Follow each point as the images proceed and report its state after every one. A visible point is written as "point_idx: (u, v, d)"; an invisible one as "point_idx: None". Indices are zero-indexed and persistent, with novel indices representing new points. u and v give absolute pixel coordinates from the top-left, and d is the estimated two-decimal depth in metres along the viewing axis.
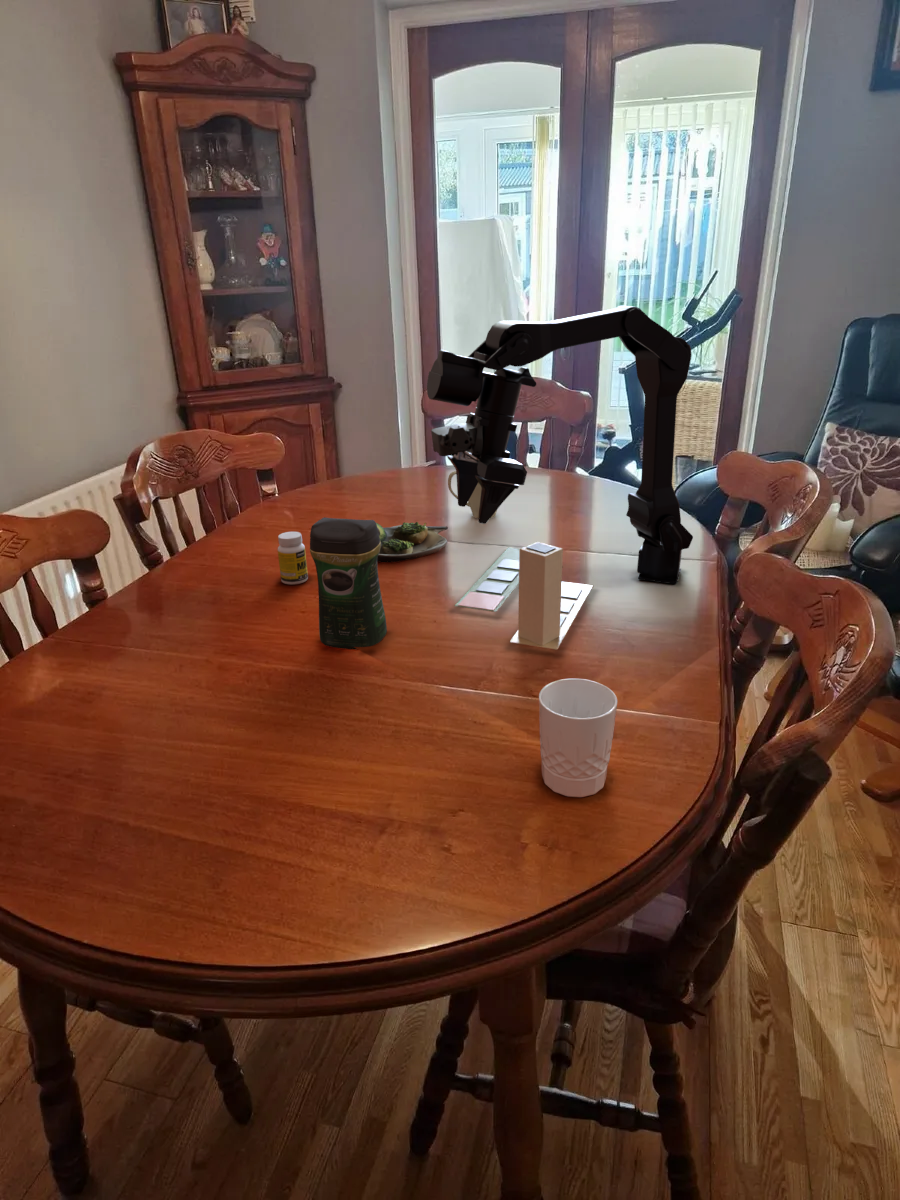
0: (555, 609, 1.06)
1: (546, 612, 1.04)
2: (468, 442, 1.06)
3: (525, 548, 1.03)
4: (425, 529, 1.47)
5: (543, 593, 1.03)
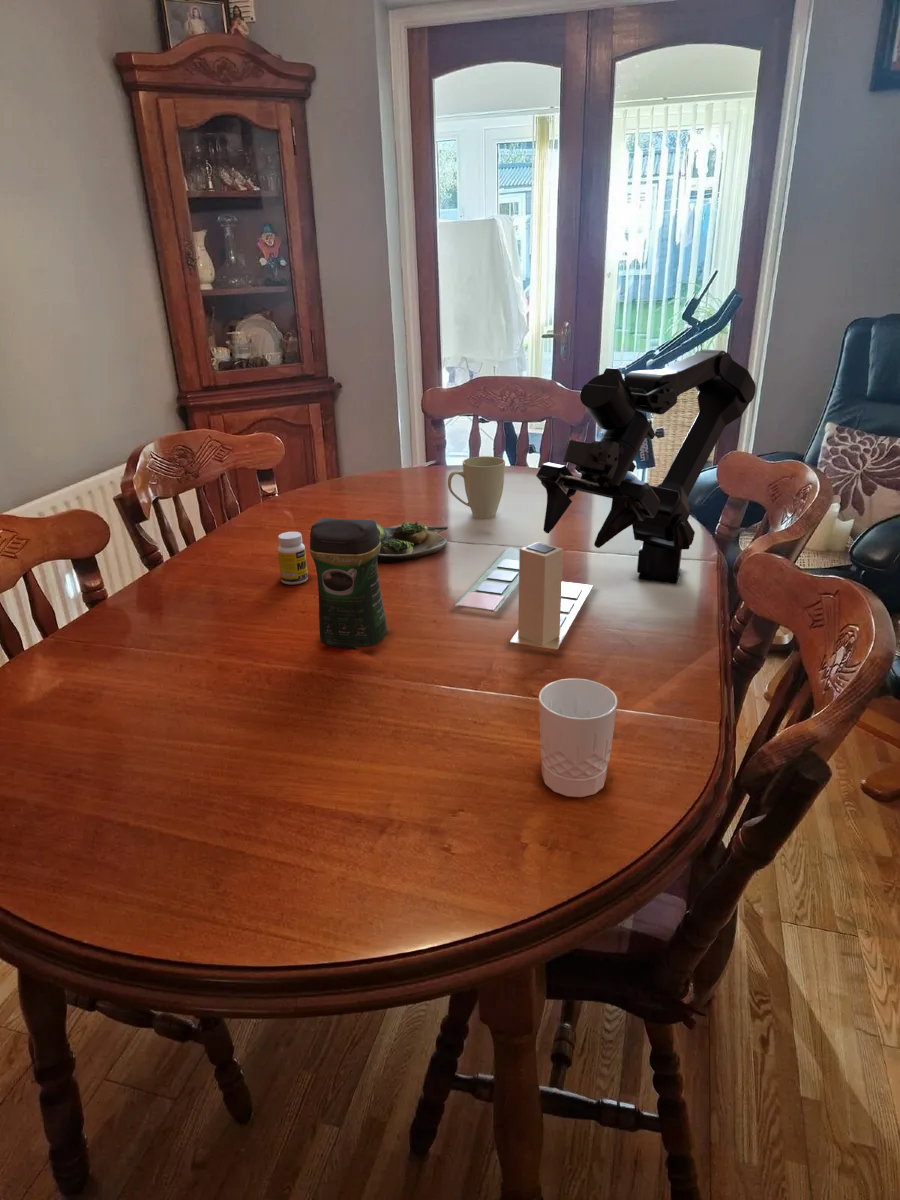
0: (555, 609, 1.06)
1: (546, 612, 1.04)
2: (616, 460, 1.04)
3: (525, 548, 1.03)
4: (425, 529, 1.47)
5: (543, 593, 1.03)
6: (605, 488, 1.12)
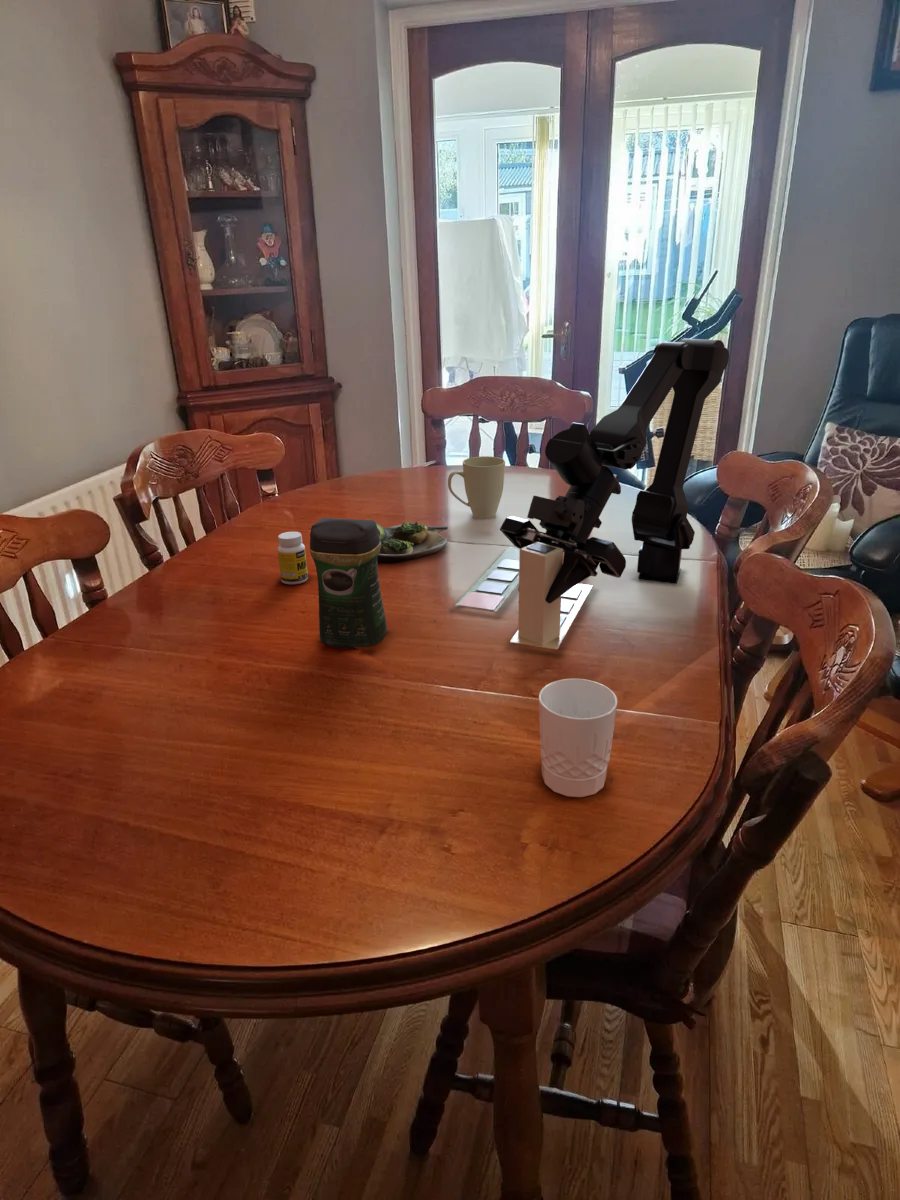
0: (555, 609, 1.06)
1: (546, 612, 1.04)
2: (581, 518, 1.01)
3: (525, 548, 1.03)
4: (425, 529, 1.47)
5: (543, 594, 1.03)
6: None
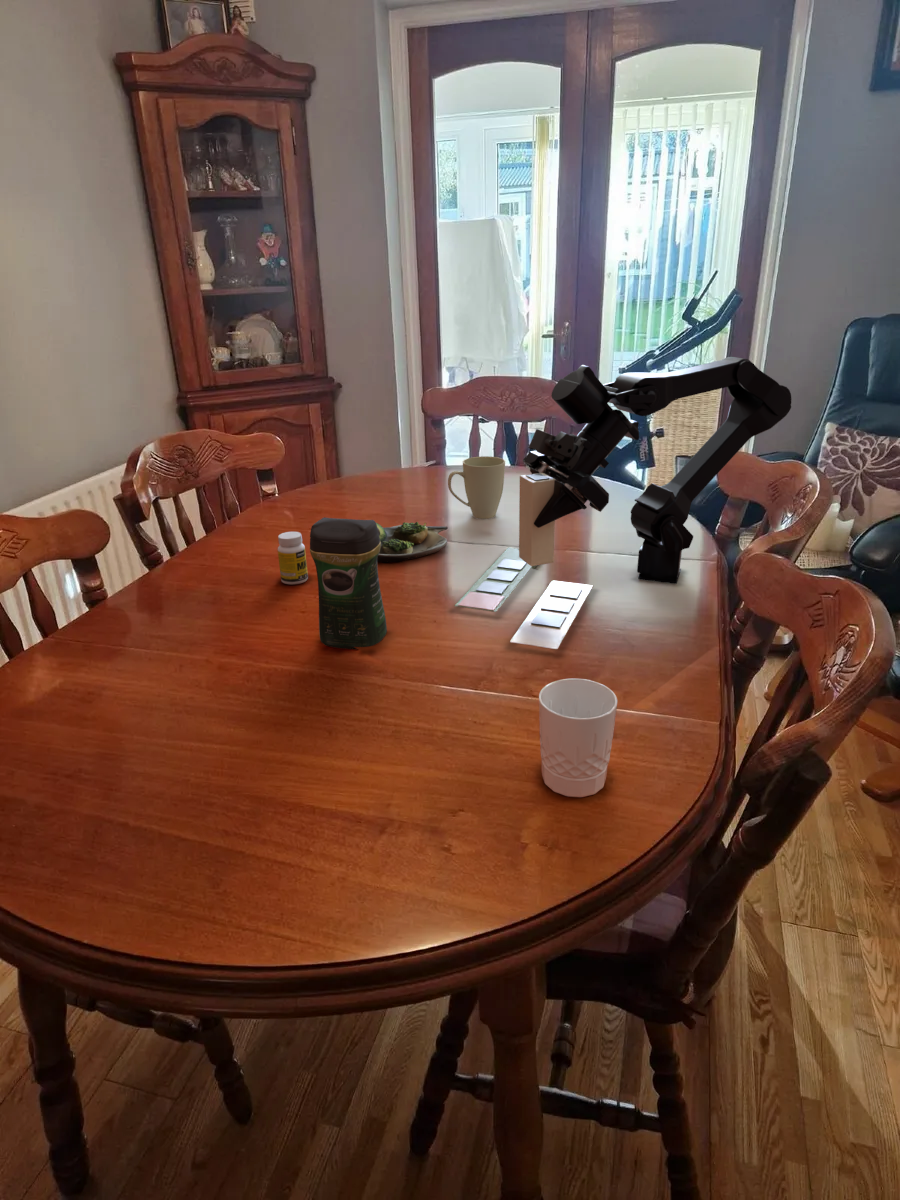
0: (547, 535, 1.17)
1: (535, 536, 1.16)
2: (570, 452, 1.11)
3: (524, 475, 1.16)
4: (425, 529, 1.47)
5: (531, 517, 1.15)
6: None
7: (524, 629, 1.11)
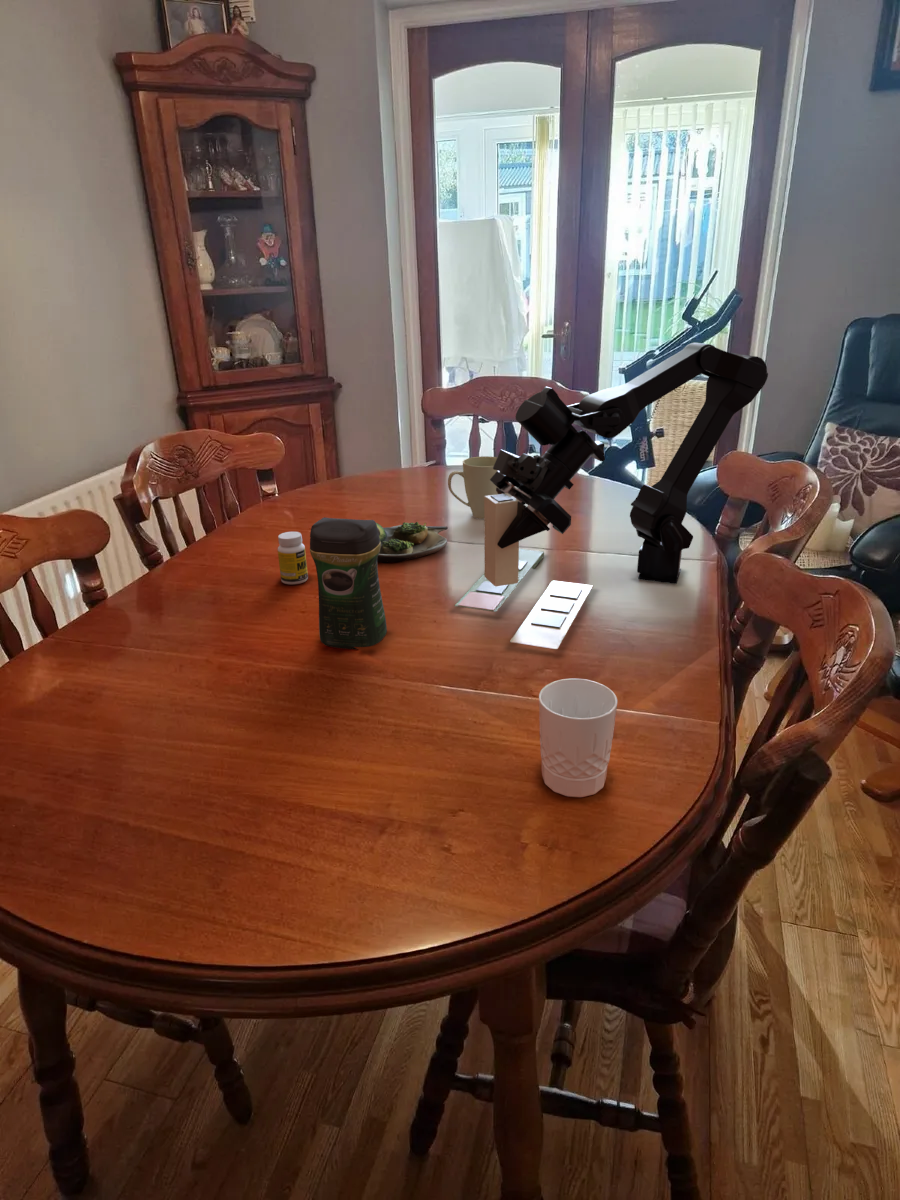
0: (511, 556, 1.17)
1: (499, 556, 1.16)
2: (533, 474, 1.10)
3: (489, 496, 1.16)
4: (425, 529, 1.47)
5: (495, 538, 1.14)
6: None
7: (524, 629, 1.11)
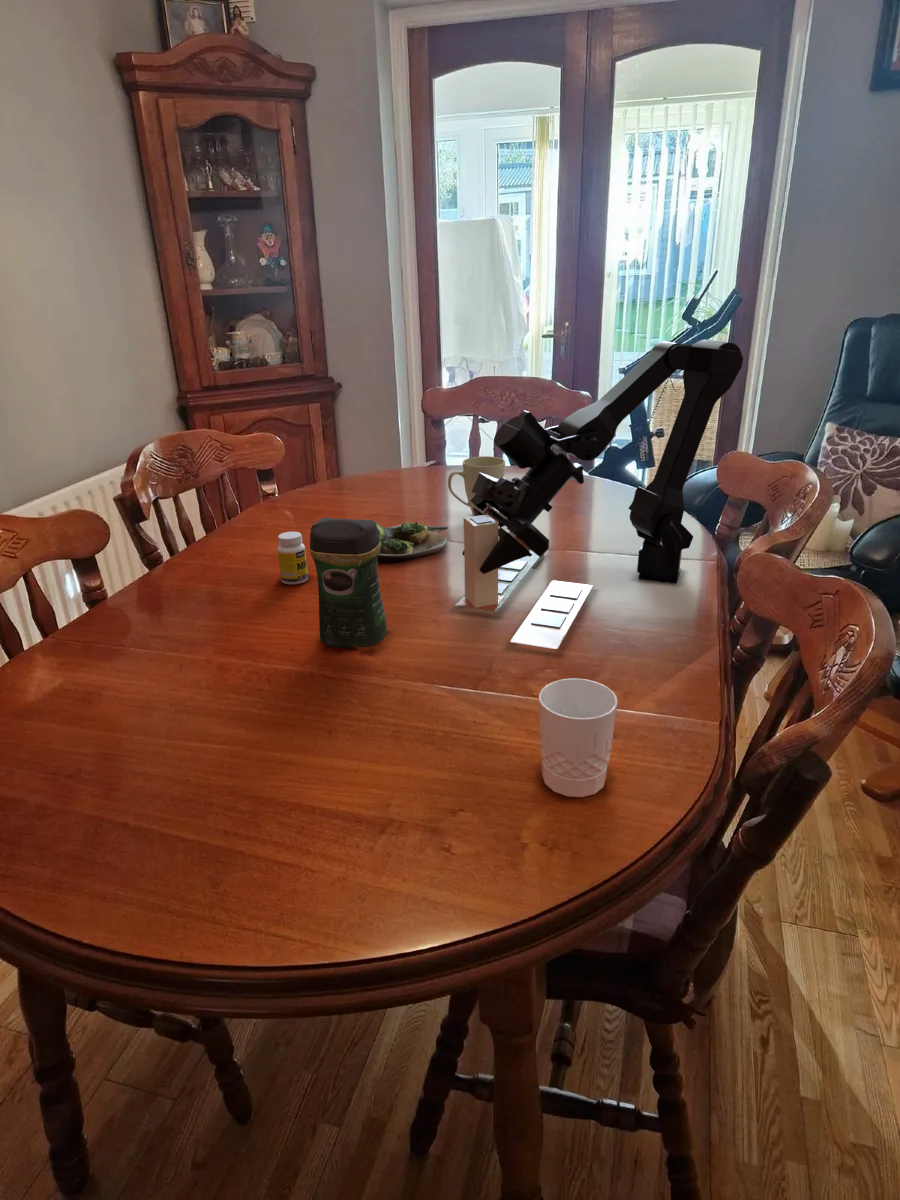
0: (490, 577, 1.17)
1: (478, 578, 1.16)
2: (511, 497, 1.11)
3: (468, 518, 1.16)
4: (425, 529, 1.47)
5: (474, 560, 1.15)
6: None
7: (524, 629, 1.11)
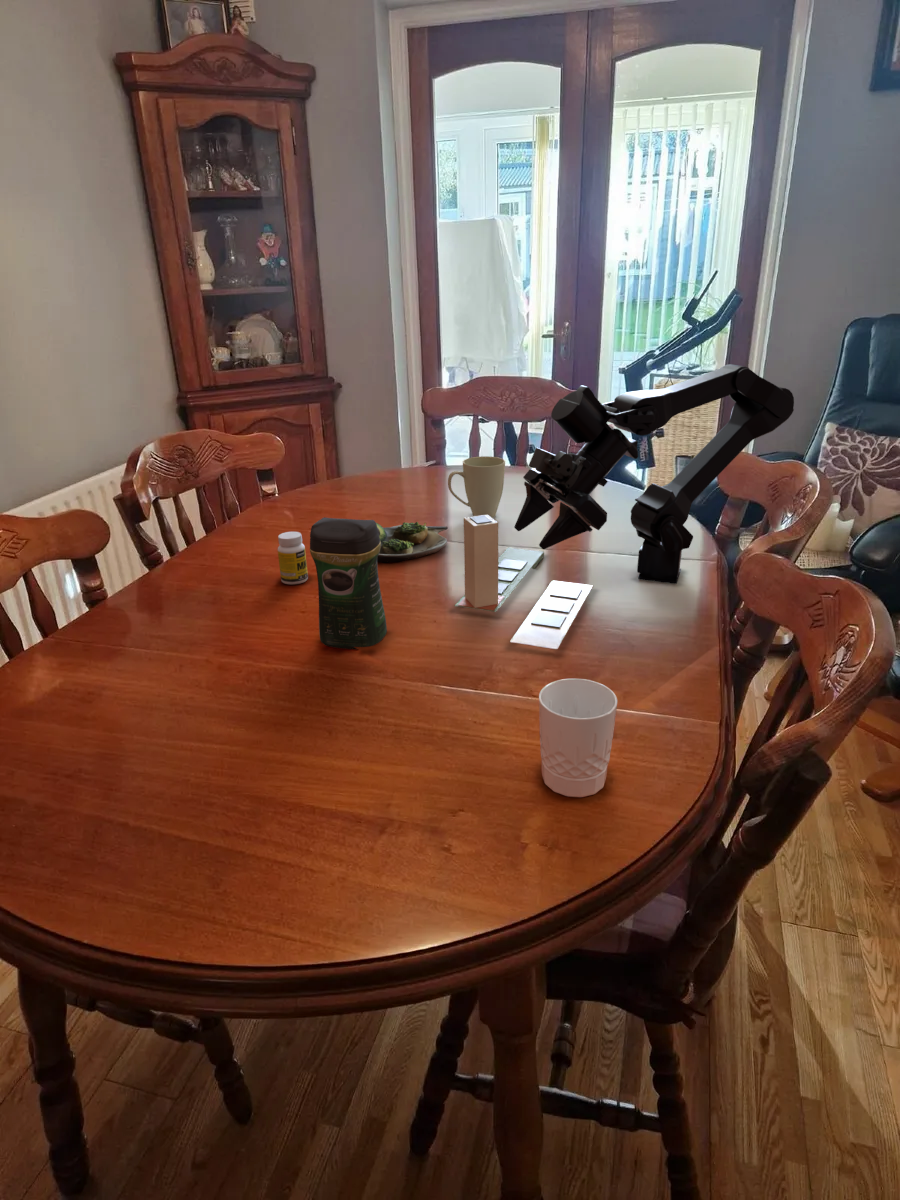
0: (490, 577, 1.17)
1: (478, 578, 1.16)
2: (569, 471, 1.12)
3: (468, 518, 1.16)
4: (425, 529, 1.47)
5: (474, 560, 1.15)
6: None
7: (524, 629, 1.11)
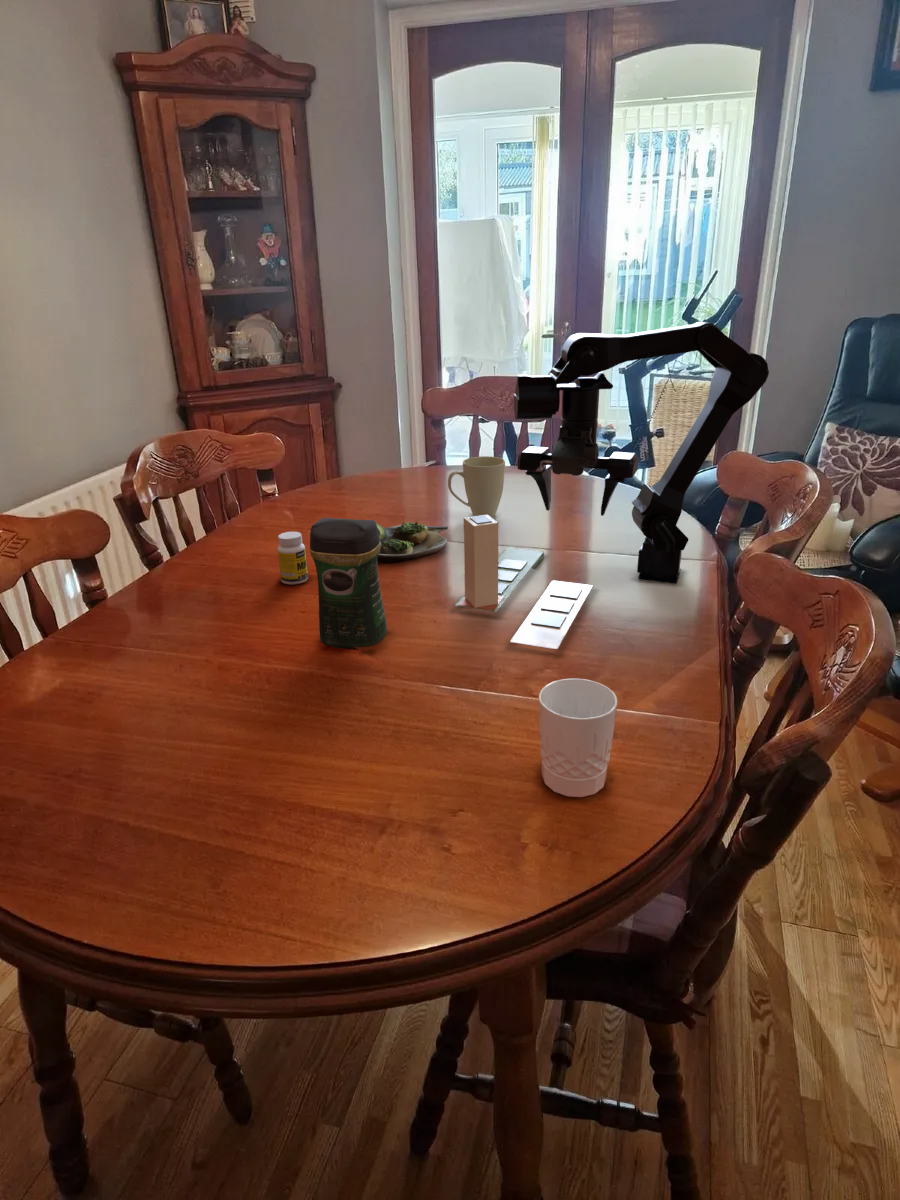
0: (490, 577, 1.17)
1: (478, 578, 1.16)
2: (598, 454, 1.16)
3: (468, 518, 1.16)
4: (425, 529, 1.47)
5: (474, 560, 1.15)
6: None
7: (524, 629, 1.11)
